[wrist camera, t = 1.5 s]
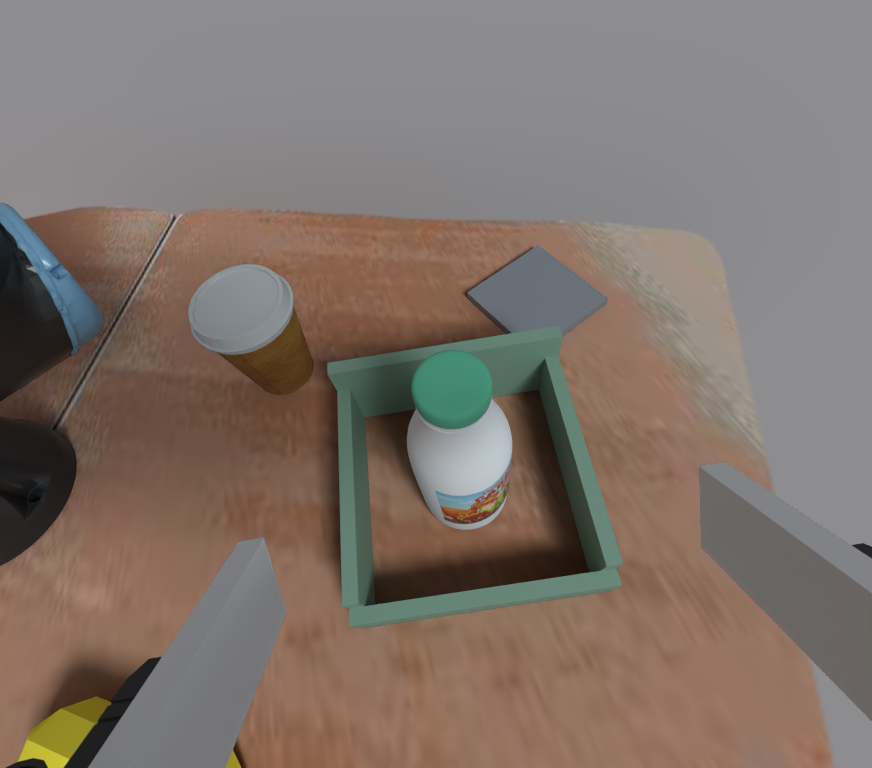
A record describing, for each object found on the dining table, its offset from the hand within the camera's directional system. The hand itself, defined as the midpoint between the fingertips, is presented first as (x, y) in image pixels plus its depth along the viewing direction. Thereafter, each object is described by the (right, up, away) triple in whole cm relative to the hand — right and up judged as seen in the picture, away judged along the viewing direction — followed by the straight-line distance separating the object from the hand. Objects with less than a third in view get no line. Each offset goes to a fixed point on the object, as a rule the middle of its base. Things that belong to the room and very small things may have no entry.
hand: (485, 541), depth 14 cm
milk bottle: (+1, -5, +29) cm, 30 cm away
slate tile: (+10, +14, +39) cm, 43 cm away
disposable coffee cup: (-18, +6, +38) cm, 42 cm away
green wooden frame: (+1, -5, +29) cm, 30 cm away
